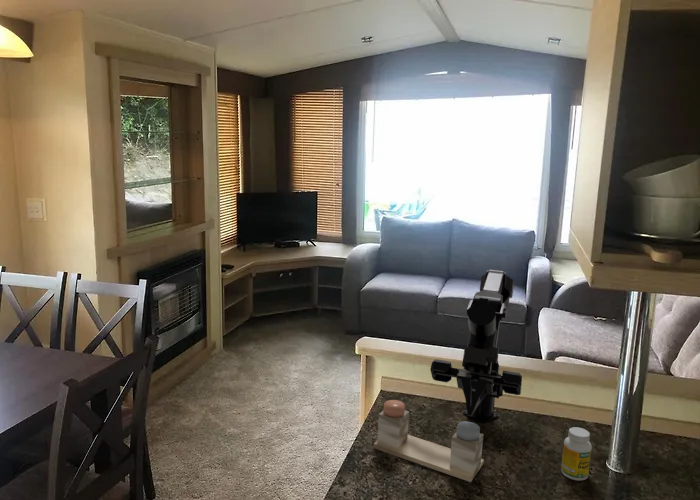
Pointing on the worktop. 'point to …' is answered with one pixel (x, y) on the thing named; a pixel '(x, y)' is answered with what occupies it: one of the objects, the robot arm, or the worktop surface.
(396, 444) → the stand
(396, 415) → the terracotta key
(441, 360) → the robot arm
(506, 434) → the worktop surface
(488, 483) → the worktop surface
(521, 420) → the worktop surface
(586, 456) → the supplement bottle
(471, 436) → the slate key
